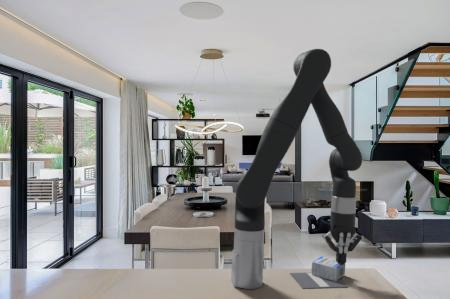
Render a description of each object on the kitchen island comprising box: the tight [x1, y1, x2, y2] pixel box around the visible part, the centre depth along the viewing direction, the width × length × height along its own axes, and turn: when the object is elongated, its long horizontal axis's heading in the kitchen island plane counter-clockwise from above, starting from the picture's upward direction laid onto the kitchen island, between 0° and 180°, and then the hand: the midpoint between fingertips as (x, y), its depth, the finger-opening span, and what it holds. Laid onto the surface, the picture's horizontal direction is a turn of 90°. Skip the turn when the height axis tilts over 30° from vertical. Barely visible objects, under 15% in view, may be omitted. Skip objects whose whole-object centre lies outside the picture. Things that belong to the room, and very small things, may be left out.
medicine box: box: [311, 256, 346, 281], centre depth 117 cm, size 8×4×9 cm
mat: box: [289, 272, 349, 290], centre depth 113 cm, size 14×12×1 cm
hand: (340, 263), depth 112 cm, fingers closed
